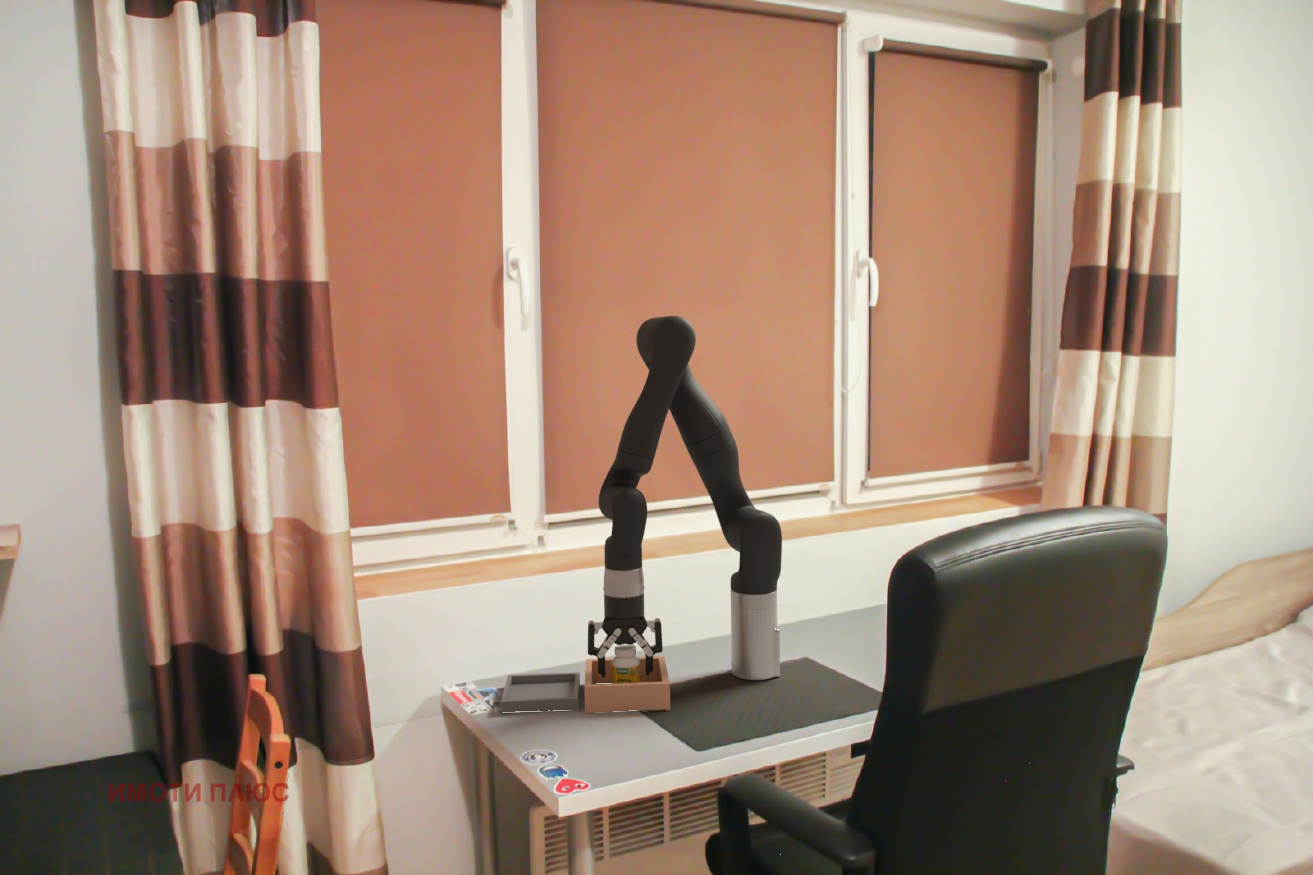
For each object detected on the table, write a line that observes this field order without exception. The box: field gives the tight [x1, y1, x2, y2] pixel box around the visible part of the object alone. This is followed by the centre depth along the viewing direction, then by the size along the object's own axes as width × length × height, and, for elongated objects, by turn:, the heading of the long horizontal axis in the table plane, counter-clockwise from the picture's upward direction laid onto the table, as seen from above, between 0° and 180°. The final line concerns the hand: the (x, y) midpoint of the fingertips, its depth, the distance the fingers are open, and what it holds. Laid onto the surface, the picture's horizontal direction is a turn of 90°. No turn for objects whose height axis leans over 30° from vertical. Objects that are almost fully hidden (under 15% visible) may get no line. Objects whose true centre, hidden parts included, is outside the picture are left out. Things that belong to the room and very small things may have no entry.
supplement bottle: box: [612, 644, 641, 684], centre depth 180 cm, size 5×5×10 cm
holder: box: [584, 655, 671, 714], centre depth 181 cm, size 15×15×5 cm
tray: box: [500, 671, 581, 713], centre depth 181 cm, size 14×14×2 cm
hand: (625, 675), depth 180 cm, fingers open, 8 cm apart
